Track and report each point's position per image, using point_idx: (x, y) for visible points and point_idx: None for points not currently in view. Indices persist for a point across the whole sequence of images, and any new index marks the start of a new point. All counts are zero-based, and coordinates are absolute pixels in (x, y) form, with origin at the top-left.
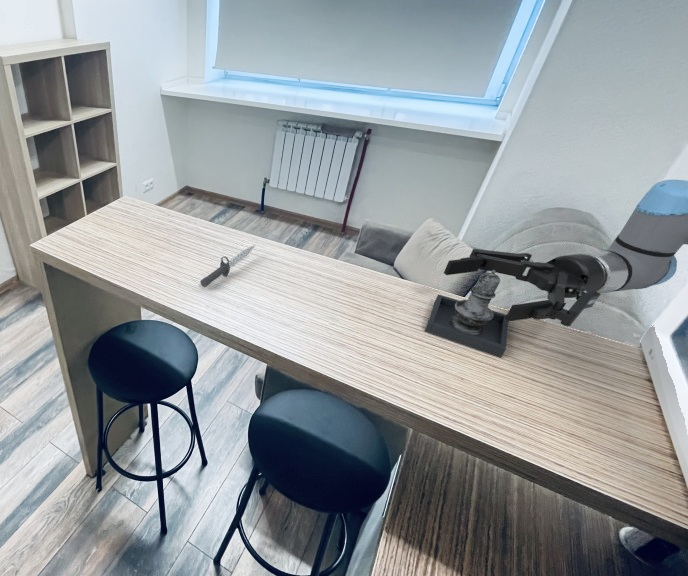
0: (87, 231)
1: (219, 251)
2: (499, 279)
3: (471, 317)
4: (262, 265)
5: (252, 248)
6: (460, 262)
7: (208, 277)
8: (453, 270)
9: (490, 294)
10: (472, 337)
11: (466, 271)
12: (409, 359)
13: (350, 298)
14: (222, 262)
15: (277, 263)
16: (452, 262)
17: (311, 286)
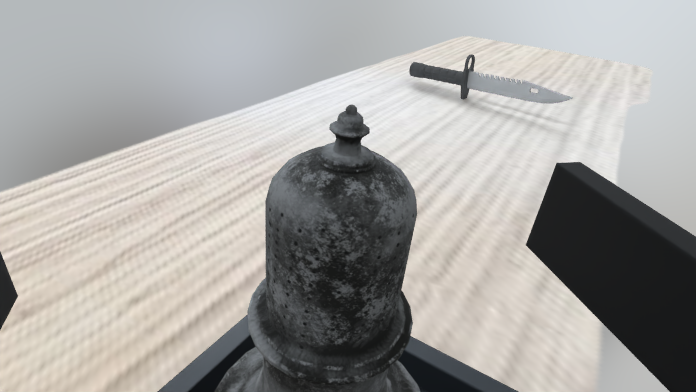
0: (521, 48)
1: (548, 103)
2: (296, 202)
3: (243, 355)
4: (530, 129)
5: (557, 98)
6: (605, 205)
7: (423, 64)
8: (559, 241)
9: (266, 295)
10: (162, 389)
11: (641, 348)
12: (170, 231)
13: (449, 206)
14: (469, 68)
15: (554, 144)
16: (561, 165)
17: (478, 165)
